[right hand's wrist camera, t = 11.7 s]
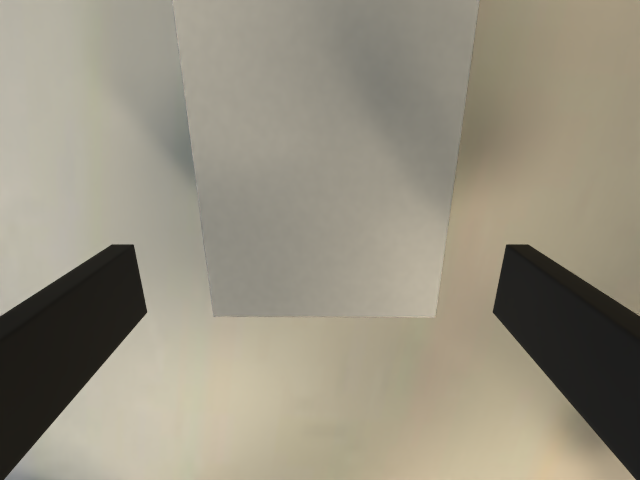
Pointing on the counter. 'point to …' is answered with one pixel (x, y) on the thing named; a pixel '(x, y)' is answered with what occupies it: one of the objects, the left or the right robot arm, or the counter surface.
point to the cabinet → (325, 149)
